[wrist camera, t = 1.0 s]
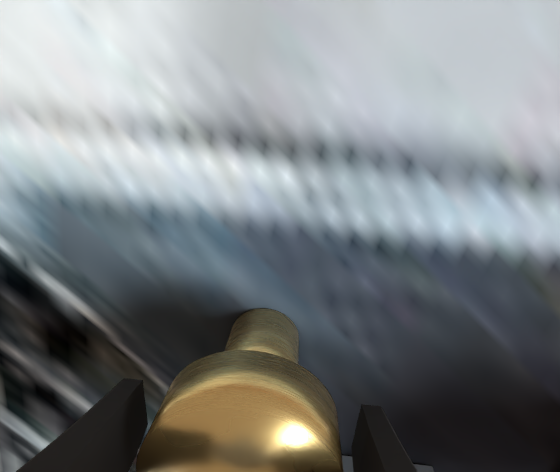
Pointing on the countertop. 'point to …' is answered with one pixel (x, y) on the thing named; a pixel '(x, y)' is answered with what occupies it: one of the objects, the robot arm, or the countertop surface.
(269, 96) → the countertop surface
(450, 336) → the countertop surface
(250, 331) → the brass door knob
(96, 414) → the robot arm
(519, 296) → the countertop surface
